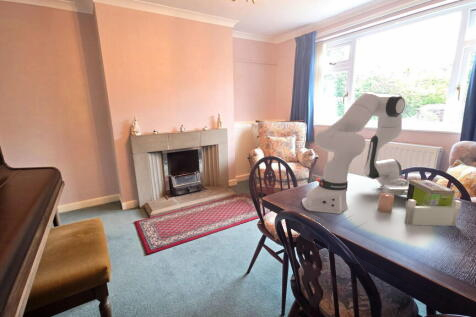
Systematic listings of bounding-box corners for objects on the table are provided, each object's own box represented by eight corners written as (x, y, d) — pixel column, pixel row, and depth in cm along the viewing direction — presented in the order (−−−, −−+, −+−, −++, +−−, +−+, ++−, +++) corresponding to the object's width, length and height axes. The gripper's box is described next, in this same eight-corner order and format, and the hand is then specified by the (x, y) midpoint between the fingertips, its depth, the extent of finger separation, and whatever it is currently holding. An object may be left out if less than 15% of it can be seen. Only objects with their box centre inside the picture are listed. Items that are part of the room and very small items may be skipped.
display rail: (407, 224, 99) (411, 201, 97) (404, 222, 101) (408, 199, 99) (456, 225, 98) (461, 202, 95) (452, 223, 100) (457, 200, 97)
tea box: (449, 221, 101) (456, 190, 98) (425, 221, 102) (431, 190, 98) (424, 206, 116) (430, 179, 112) (404, 206, 116) (408, 179, 113)
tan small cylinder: (381, 212, 110) (383, 197, 108) (375, 207, 116) (377, 192, 114) (394, 213, 110) (397, 197, 108) (387, 207, 116) (389, 192, 114)
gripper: (379, 180, 128) (393, 189, 115) (417, 181, 127) (436, 190, 113) (377, 191, 130) (391, 201, 116) (415, 191, 128) (434, 201, 115)
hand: (414, 195), depth 115 cm, fingers closed
